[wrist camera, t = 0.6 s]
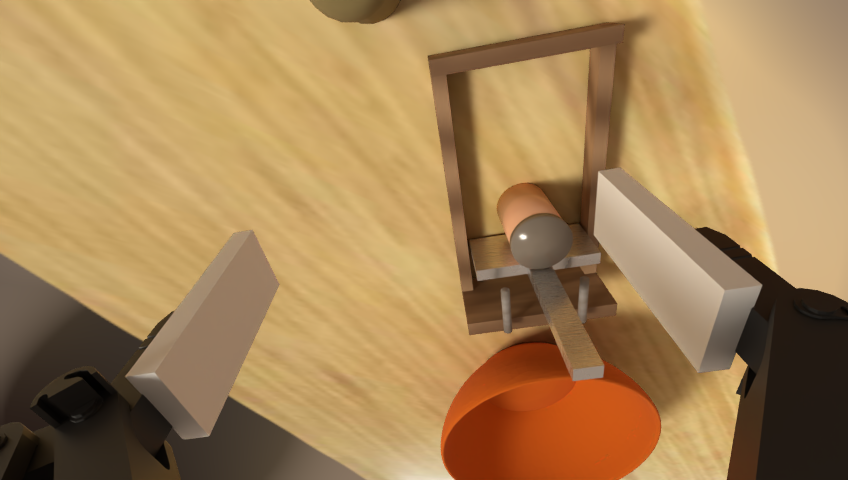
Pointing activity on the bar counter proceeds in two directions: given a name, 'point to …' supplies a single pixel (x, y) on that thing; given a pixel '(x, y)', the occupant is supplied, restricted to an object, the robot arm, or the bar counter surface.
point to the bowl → (546, 421)
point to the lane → (514, 296)
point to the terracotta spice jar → (533, 227)
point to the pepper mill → (357, 9)
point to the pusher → (549, 295)
